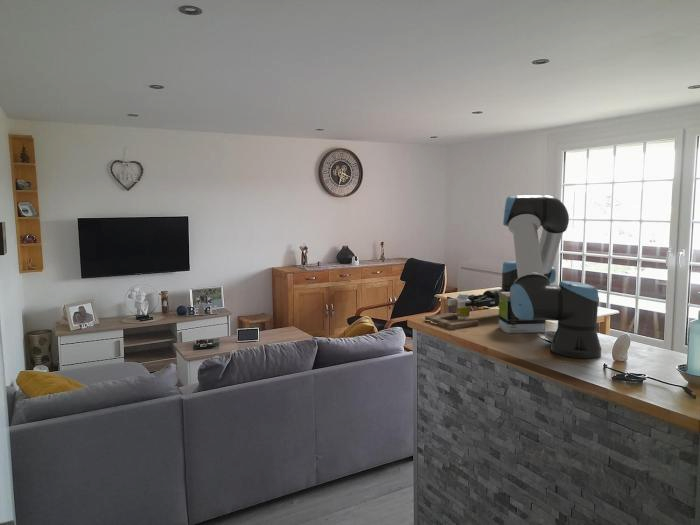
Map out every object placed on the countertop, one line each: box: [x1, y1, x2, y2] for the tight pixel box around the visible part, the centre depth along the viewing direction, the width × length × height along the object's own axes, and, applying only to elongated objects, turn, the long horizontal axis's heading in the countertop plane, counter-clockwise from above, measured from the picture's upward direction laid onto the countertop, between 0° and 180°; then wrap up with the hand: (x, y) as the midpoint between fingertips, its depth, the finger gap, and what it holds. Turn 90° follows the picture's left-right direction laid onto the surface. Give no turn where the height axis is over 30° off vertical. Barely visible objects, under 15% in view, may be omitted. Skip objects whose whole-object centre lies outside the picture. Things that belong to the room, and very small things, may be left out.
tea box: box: [498, 292, 546, 334], centre depth 191 cm, size 15×10×15 cm
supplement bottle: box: [455, 292, 471, 319], centre depth 206 cm, size 5×5×10 cm
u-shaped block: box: [424, 312, 479, 331], centre depth 203 cm, size 17×14×2 cm
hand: (453, 303), depth 204 cm, fingers closed on supplement bottle, 5 cm apart
